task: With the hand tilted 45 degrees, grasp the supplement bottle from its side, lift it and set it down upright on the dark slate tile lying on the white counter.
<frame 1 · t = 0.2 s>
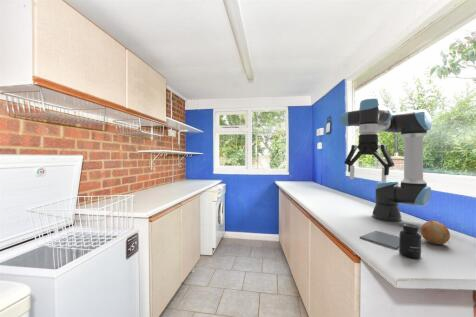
hand: (366, 180, 100), 28 cm above the worktop, tool pointing down, fingers open, 13 cm apart
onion: (434, 244, 97), on the worktop
slate tile: (384, 239, 102), on the worktop
supplement bottle: (409, 256, 86), on the worktop
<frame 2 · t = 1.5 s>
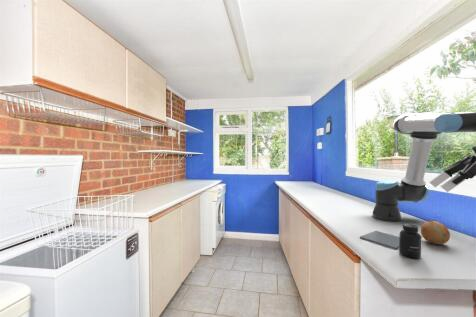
hand: (437, 186, 84), 27 cm above the worktop, tool tilted 45°, fingers open, 13 cm apart
nothing on the worktop moved.
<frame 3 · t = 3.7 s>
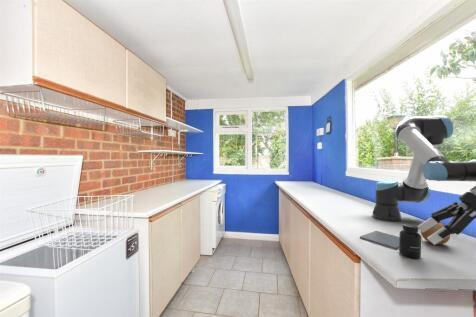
hand: (424, 235, 83), 9 cm above the worktop, tool tilted 45°, fingers open, 13 cm apart
nothing on the worktop moved.
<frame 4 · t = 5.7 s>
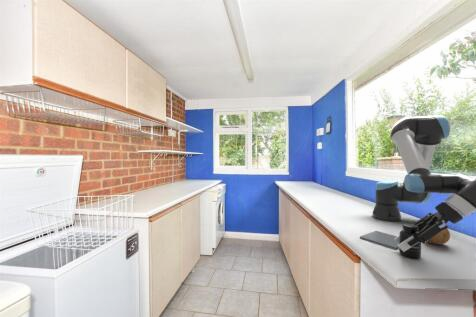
hand: (398, 245, 88), 3 cm above the worktop, tool tilted 45°, fingers closed on supplement bottle, 7 cm apart
supplement bottle: (409, 256, 86), on the worktop, touching gripper
everything else where it was.
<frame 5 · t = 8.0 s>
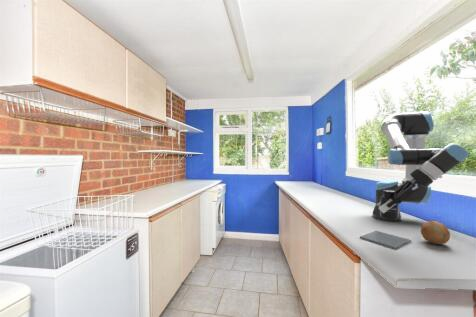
hand: (379, 208, 100), 15 cm above the worktop, tool tilted 45°, fingers closed on supplement bottle, 7 cm apart
supplement bottle: (389, 217, 99), point 11 cm above the worktop, touching gripper
everything else where it was.
when the fingers open (6 cm above the worktop, at t = 10.5 s): supplement bottle drops 1 cm, resting on slate tile.
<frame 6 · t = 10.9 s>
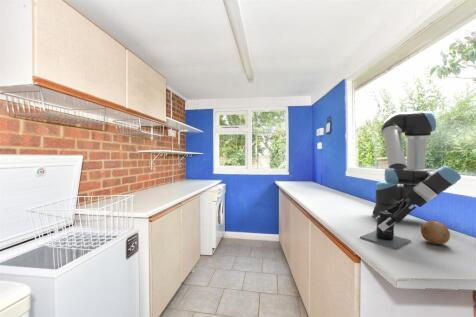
hand: (378, 224, 103), 7 cm above the worktop, tool tilted 45°, fingers open, 13 cm apart
supplement bottle: (384, 238, 102), point 1 cm above the worktop, touching slate tile
everything else where it was.
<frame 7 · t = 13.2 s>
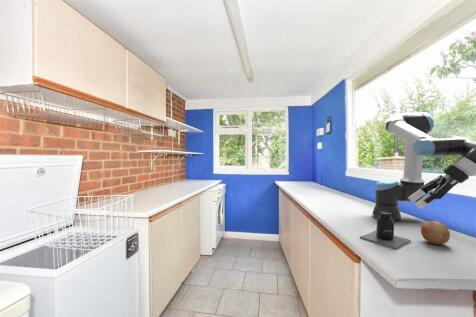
hand: (413, 203, 97), 18 cm above the worktop, tool tilted 45°, fingers open, 13 cm apart
nothing on the worktop moved.
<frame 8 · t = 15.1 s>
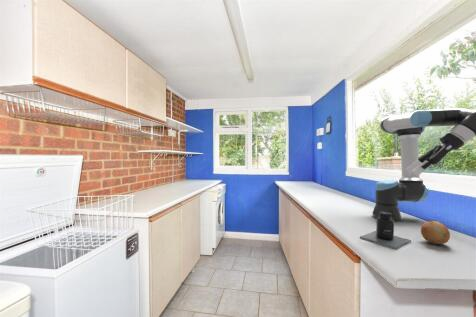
hand: (411, 172, 100), 32 cm above the worktop, tool tilted 45°, fingers open, 13 cm apart
nothing on the worktop moved.
at the end: supplement bottle inside the target area on the slate tile (0.2 cm from its centre), point 0.6 cm above the slate tile's base; supplement bottle tilted 0°; the gripper is holding nothing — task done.
